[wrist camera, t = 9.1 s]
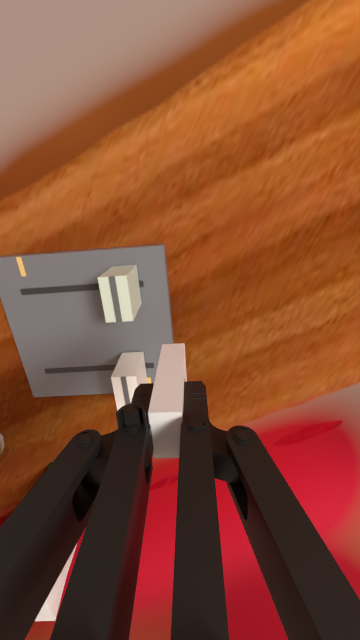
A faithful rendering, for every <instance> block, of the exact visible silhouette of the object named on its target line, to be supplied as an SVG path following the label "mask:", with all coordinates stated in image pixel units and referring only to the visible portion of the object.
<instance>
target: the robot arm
mask: <svg viewBox="0 0 360 640" xmlns="http://www.w3.org/2000/svg"><path fill="white" fill-rule="evenodd" d="M116 416H117V422H118V427H119V428H118V430H116V431H114V432H112V433H109V434H105V435H100V434H99V432H98V431H96V430H85V431H82V432H80V433H78V434H76V435H75V436H74V437H73V438H72V439H71V441H70V442H69V443H68V444H67V446H66V447H65V448H64V449H63V450H62V452H61V453H60V454H59V455H58V457H57V458H56V459H55V460H54V462H53V463H52V464H51V465H50V466H49V468H48V469H47V470H46V471H45V473H44V474H43V475H42V476H41V478H40V479H39V480H38V481H37V482H36V484H35V485H34V486H33V487H32V489H31V490H30V491H29V492H28V494H27V495H26V496H25V497H24V498H23V500H22V501H21V502H20V503H19V505H18V506H17V507H16V508H15V510H14V511H13V512H12V513H11V514H10V516H9V517H8V518H7V519H6V521H5V522H4V523H3V524H2V526H1V527H0V640H25V638H26V636H27V634H28V632H29V630H30V629H31V627H32V625H33V623H34V621H35V619H36V618H37V616H38V614H39V612H40V610H41V608H42V607H43V605H44V603H45V601H46V599H47V597H48V596H49V594H50V592H51V590H52V588H53V586H54V585H55V583H56V581H57V579H58V577H59V575H60V574H61V572H62V570H63V568H64V566H65V564H66V563H67V561H68V559H69V557H70V555H71V553H72V552H73V550H74V548H75V546H76V544H77V542H78V540H79V539H80V537H81V535H82V533H83V531H84V529H85V528H86V530H85V533H84V536H83V539H82V542H81V546H80V549H79V552H78V555H77V558H76V561H75V564H74V567H73V570H72V573H71V576H70V580H69V582H68V586H67V589H66V592H65V595H64V598H63V601H62V604H61V607H60V610H59V613H58V616H57V619H56V623H55V626H54V629H53V632H52V635H51V638H50V640H129V634H130V627H131V620H132V613H133V605H134V598H135V592H136V585H137V577H138V569H139V563H140V556H141V549H142V542H143V534H144V527H145V520H146V513H147V506H148V499H149V492H150V485H151V477H152V470H153V465H152V455H154V458H179V473H178V495H177V517H176V539H175V560H174V582H173V583H174V584H173V605H172V626H171V627H172V628H171V640H229V634H228V623H227V611H226V600H225V588H224V579H223V578H224V577H223V566H222V555H221V544H220V533H219V522H218V511H217V500H216V488H215V480H214V479H215V478H217V479H220V480H223V481H226V482H227V486H228V488H229V490H230V493H231V496H232V498H233V501H234V503H235V506H236V508H237V511H238V513H239V516H240V518H241V521H242V523H243V526H244V529H245V531H246V534H247V536H248V539H249V541H250V544H251V546H252V549H253V551H254V554H255V556H256V559H257V561H258V564H259V566H260V569H261V572H262V574H263V577H264V579H265V582H266V584H267V587H268V589H269V592H270V594H271V597H272V599H273V602H274V604H275V607H276V609H277V612H278V615H279V617H280V619H281V622H282V624H283V627H284V630H285V632H286V635H287V637H288V639H289V640H360V600H359V598H358V596H357V595H356V593H355V591H354V590H353V588H352V587H351V585H350V583H349V582H348V580H347V579H346V577H345V575H344V574H343V572H342V571H341V569H340V567H339V566H338V564H337V563H336V561H335V559H334V558H333V556H332V555H331V553H330V551H329V550H328V548H327V547H326V545H325V543H324V542H323V540H322V538H321V537H320V535H319V534H318V532H317V530H316V529H315V527H314V526H313V524H312V522H311V521H310V519H309V518H308V516H307V514H306V513H305V511H304V509H303V508H302V506H301V505H300V503H299V501H298V500H297V498H296V497H295V495H294V494H293V492H292V490H291V489H290V487H289V486H288V484H287V482H286V481H285V479H284V477H283V476H282V474H281V473H280V471H279V469H278V468H277V466H276V464H275V463H274V461H273V460H272V458H271V457H270V455H269V453H268V452H267V450H266V448H265V447H264V445H263V444H262V442H261V440H260V439H259V437H258V436H257V434H256V433H255V432H254V431H253V430H252V429H250V428H249V427H245V426H234V427H232V428H230V429H229V430H228V431H224V430H220V429H218V428H216V427H214V426H213V425H212V424H211V423H210V421H209V418H208V407H207V396H206V386H205V385H204V384H203V382H202V381H191V382H187V376H186V359H185V343H183V344H162V347H161V352H160V357H159V362H158V367H157V372H156V377H155V381H154V383H145V384H139V386H138V387H137V388H136V389H135V391H134V394H133V398H132V402H131V404H127V405H124V406H122V407H121V408H120V409H118V411H117V413H116ZM86 526H87V527H86Z"/></svg>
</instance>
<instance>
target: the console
mask: <svg viewBox="0 0 360 640" xmlns="http://www.w3.org/2000/svg"><path fill="white" fill-rule="evenodd" d="M125 265H137V272H138V280H139V287H140V295H141V302H142V304H141V306H140V308H139V310H138V312H137V314H136V316H135V318H134V321H125V322H109V323H106V320H105V315H104V309H103V304H102V299H101V294H100V288H99V283H98V278H97V277H99V276H100V275H101V274H103V273H104V272H105V271H107V270H108V269H109V268H111V267H112V266H125ZM0 298H1V301H2V304H3V307H4V310H5V313H6V316H7V319H8V322H9V325H10V328H11V331H12V334H13V337H14V340H15V343H16V346H17V349H18V352H19V355H20V358H21V361H22V364H23V367H24V370H25V372H26V375H27V378H28V381H29V384H30V387H31V390H32V393H33V396H34V397H50V396H70V395H90V394H110V393H114V391H113V386H112V381H111V376H112V374H113V372H114V369H115V367H116V365H117V363H118V360H119V358H120V356H121V354H122V353H128V352H143V353H144V360H145V367H146V374H147V383H154V381H155V377H156V372H157V367H158V362H159V357H160V352H161V347H162V344H174V338H173V327H172V316H171V305H170V294H169V283H168V273H167V262H166V251H165V244H152V245H139V246H125V247H112V248H99V249H85V250H72V251H59V252H45V253H32V254H19V255H5V256H0Z"/></svg>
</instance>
